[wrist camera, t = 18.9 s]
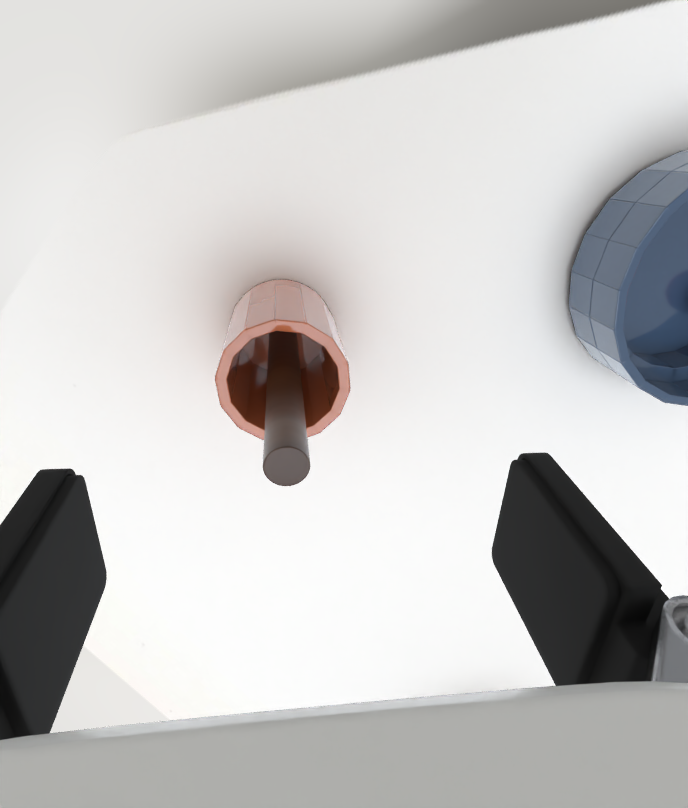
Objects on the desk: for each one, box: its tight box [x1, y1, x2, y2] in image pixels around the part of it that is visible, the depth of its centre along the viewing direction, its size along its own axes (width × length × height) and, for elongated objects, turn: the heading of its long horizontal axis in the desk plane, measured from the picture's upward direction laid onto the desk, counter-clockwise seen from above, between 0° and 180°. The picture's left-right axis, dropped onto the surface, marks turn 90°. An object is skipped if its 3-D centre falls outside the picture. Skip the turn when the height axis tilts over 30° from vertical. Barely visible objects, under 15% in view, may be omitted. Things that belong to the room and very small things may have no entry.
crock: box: [215, 279, 350, 440], centre depth 30 cm, size 7×7×9 cm
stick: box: [263, 331, 310, 486], centre depth 27 cm, size 2×2×16 cm
